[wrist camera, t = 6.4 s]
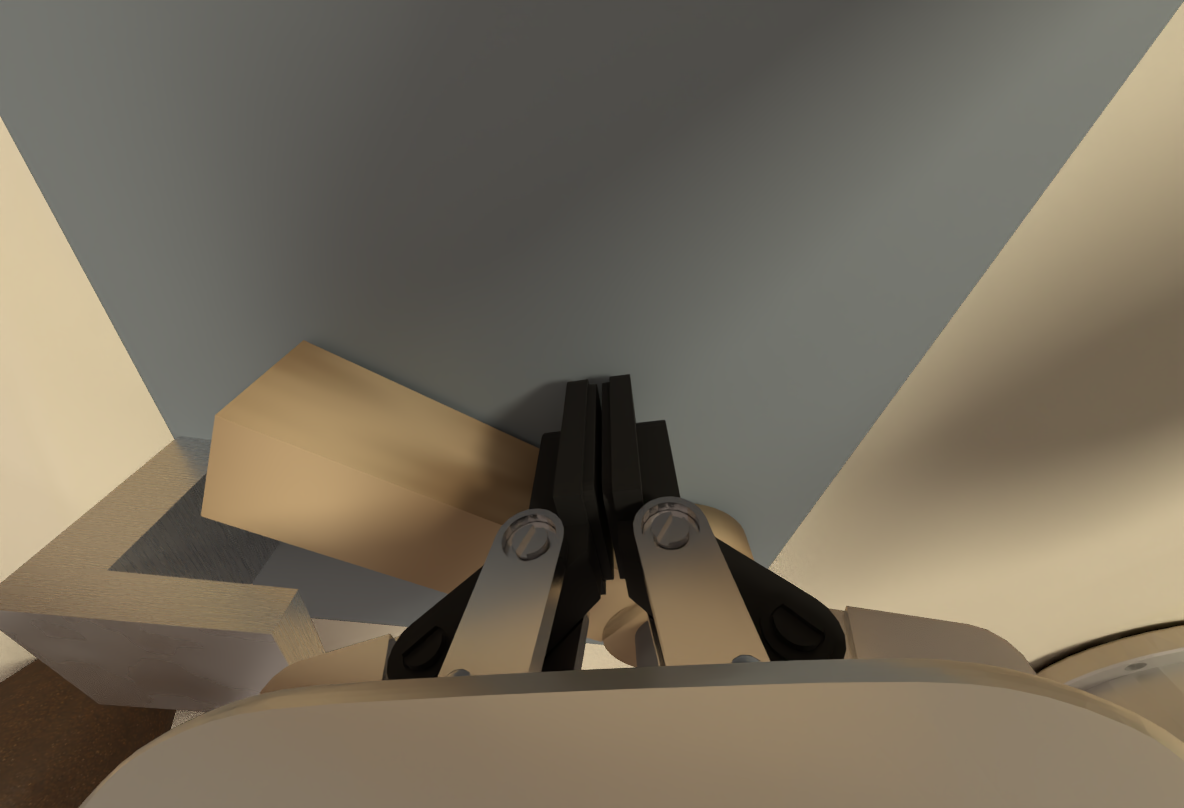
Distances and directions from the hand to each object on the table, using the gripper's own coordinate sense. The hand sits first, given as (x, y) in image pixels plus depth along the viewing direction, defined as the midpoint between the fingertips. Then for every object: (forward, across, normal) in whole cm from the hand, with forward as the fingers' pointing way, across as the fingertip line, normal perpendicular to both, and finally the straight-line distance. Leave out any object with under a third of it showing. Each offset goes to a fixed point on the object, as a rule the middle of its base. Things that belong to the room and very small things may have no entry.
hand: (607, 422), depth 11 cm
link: (0, +2, +3) cm, 4 cm away
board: (+2, +3, +1) cm, 3 cm away
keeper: (+2, +11, +2) cm, 11 cm away
